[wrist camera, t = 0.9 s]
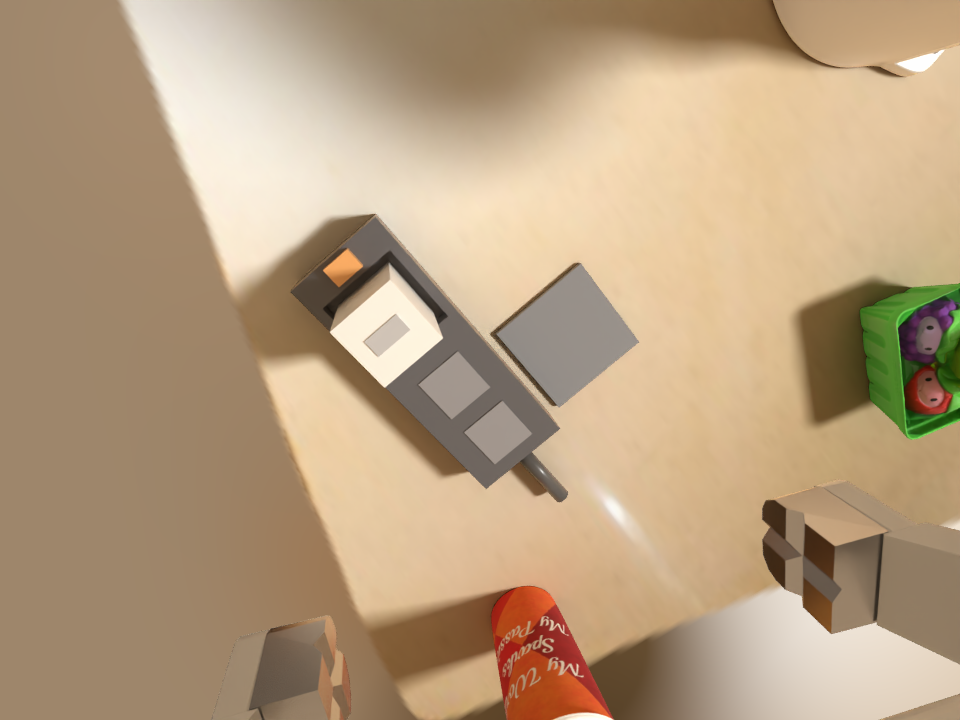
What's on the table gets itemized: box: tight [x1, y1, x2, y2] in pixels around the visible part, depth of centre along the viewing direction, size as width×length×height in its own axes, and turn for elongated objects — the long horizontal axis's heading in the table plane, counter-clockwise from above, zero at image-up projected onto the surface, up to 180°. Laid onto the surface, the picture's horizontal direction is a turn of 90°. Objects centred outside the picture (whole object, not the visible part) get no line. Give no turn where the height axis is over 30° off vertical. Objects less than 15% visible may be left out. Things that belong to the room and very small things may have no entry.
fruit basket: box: [860, 283, 960, 439], centre depth 43 cm, size 11×9×11 cm
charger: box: [330, 261, 443, 388], centre depth 35 cm, size 4×4×7 cm
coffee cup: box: [491, 586, 614, 720], centre depth 44 cm, size 8×8×15 cm
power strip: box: [291, 214, 568, 502], centre depth 41 cm, size 7×26×4 cm, turn 39°
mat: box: [496, 263, 639, 407], centre depth 43 cm, size 8×8×1 cm
